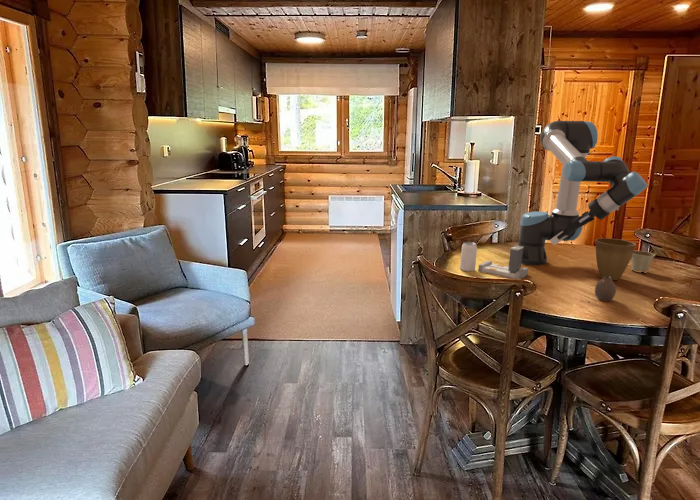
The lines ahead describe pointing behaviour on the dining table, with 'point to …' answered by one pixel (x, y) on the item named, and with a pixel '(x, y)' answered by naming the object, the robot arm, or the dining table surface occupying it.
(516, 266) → the fader tab
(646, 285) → the dining table surface
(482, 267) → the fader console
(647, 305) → the dining table surface
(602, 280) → the vase
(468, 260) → the can
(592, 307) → the dining table surface
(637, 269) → the flower pot
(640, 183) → the robot arm
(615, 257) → the plant pot
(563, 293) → the dining table surface
